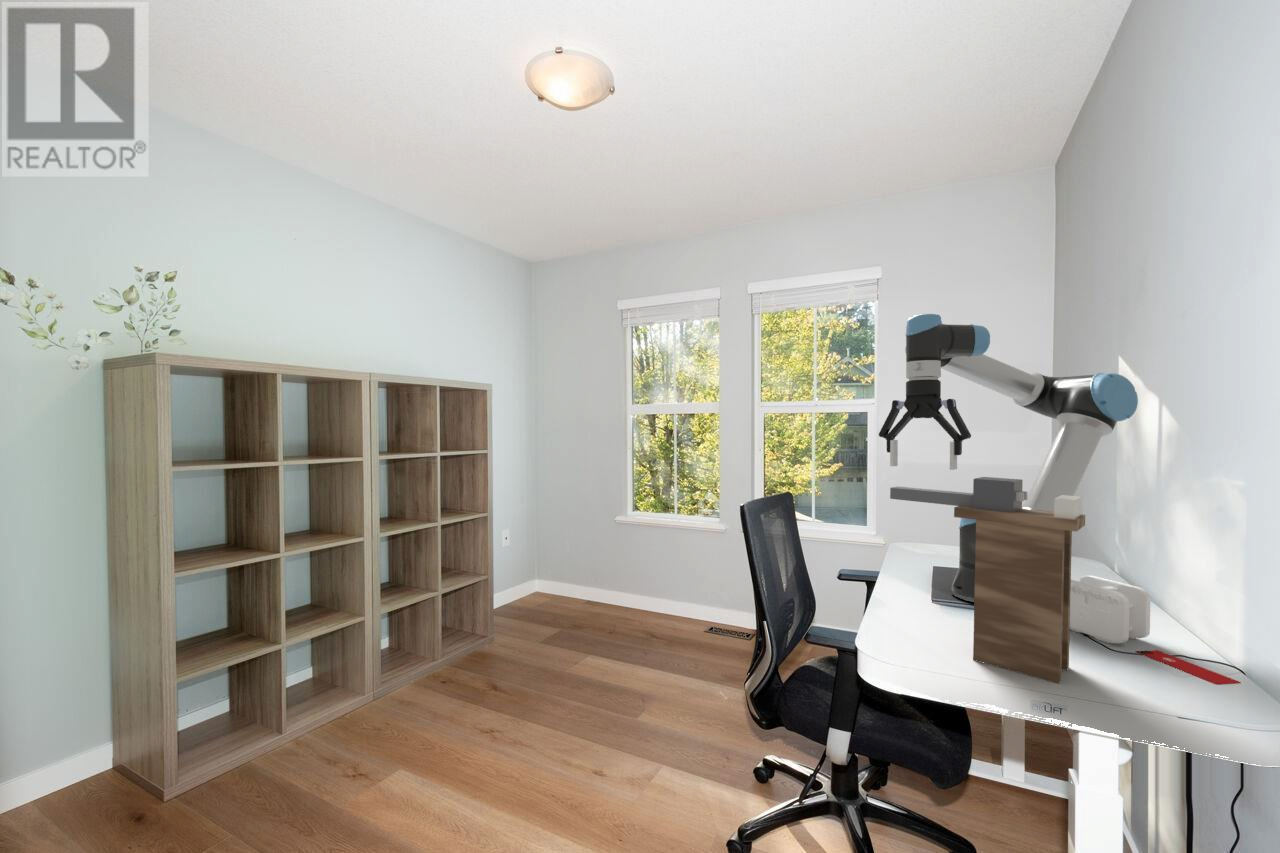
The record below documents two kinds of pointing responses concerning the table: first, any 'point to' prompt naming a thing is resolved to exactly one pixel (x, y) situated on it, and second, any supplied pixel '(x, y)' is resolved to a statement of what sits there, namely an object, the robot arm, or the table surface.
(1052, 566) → the shelf
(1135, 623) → the cable organizer
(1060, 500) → the white rectangular block
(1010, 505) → the grey t-shaped block
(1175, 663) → the electronic device
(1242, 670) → the table surface
